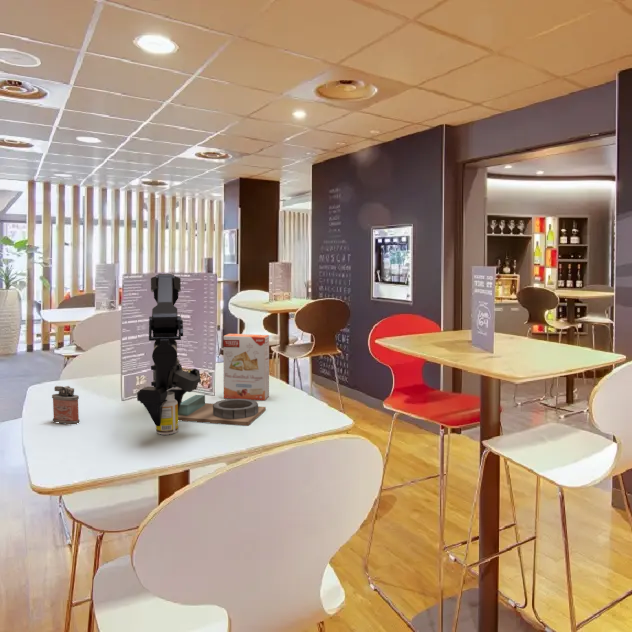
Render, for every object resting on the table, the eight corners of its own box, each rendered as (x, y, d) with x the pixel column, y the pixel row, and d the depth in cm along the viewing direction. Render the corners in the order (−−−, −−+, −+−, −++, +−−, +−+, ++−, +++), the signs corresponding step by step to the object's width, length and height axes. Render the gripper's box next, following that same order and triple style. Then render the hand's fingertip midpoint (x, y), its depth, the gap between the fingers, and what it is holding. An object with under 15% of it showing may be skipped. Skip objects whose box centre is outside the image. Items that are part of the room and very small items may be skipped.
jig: (169, 420, 145) (169, 406, 145) (194, 405, 161) (193, 392, 161) (248, 425, 141) (248, 411, 140) (265, 410, 156) (265, 396, 156)
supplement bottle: (170, 427, 139) (169, 389, 138) (182, 431, 135) (182, 393, 134) (151, 432, 134) (150, 393, 133) (163, 437, 131) (163, 397, 130)
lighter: (82, 422, 143) (81, 386, 142) (73, 425, 140) (71, 388, 139) (59, 419, 146) (58, 384, 145) (49, 422, 142) (48, 386, 142)
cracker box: (223, 399, 169) (222, 335, 167) (229, 394, 175) (228, 333, 173) (265, 401, 167) (264, 336, 165) (269, 396, 173) (269, 334, 171)
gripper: (178, 369, 122) (179, 434, 124) (210, 356, 140) (210, 412, 142) (135, 367, 124) (136, 430, 126) (171, 354, 143) (172, 410, 144)
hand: (166, 420), depth 134 cm, fingers open, 9 cm apart
